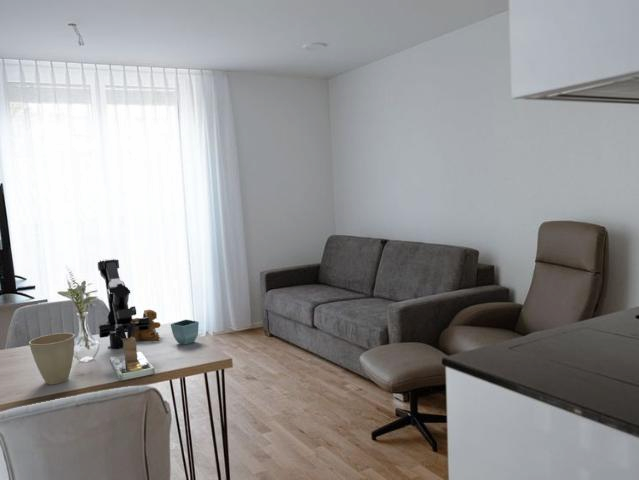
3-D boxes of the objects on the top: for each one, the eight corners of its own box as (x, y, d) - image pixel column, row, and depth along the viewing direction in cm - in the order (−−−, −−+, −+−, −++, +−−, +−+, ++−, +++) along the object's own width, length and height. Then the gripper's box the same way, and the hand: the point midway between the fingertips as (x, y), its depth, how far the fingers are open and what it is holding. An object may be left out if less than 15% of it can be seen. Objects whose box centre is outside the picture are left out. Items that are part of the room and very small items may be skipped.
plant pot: (85, 372, 211) (81, 331, 209) (69, 387, 196) (64, 343, 194) (45, 375, 210) (40, 333, 209) (26, 390, 196) (20, 345, 194)
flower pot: (184, 347, 237) (183, 326, 236) (171, 344, 242) (169, 324, 241) (200, 341, 244) (199, 321, 243) (187, 338, 249) (186, 319, 248)
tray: (116, 376, 205) (116, 368, 204) (150, 369, 210) (149, 361, 210) (120, 383, 197) (119, 375, 197) (154, 376, 202) (154, 368, 202)
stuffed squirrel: (161, 340, 249) (158, 311, 248) (128, 344, 246) (125, 314, 245) (162, 334, 259) (159, 306, 258) (130, 338, 256) (127, 309, 254)
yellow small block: (128, 373, 204) (128, 365, 204) (140, 371, 206) (139, 363, 206) (131, 377, 200) (130, 369, 200) (142, 375, 202) (141, 367, 201)
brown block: (125, 367, 211) (122, 338, 210) (136, 364, 213) (133, 336, 212) (128, 373, 204) (126, 343, 203) (140, 370, 206) (137, 341, 205)
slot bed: (110, 362, 221) (109, 357, 221) (141, 356, 226) (141, 351, 226) (116, 376, 205) (116, 370, 204) (150, 369, 210) (149, 363, 210)
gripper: (96, 304, 211) (102, 339, 203) (147, 296, 219) (155, 330, 211) (96, 320, 219) (102, 354, 210) (145, 312, 227) (153, 345, 219)
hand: (128, 345), depth 212 cm, fingers closed
